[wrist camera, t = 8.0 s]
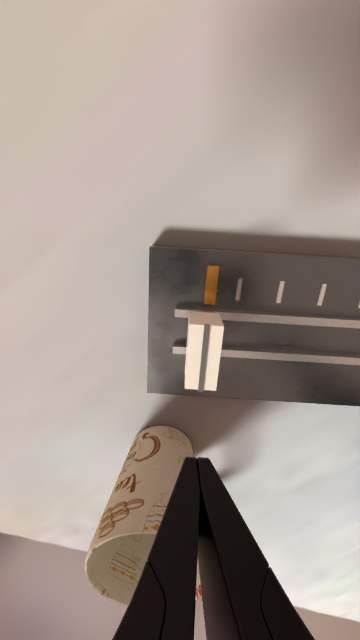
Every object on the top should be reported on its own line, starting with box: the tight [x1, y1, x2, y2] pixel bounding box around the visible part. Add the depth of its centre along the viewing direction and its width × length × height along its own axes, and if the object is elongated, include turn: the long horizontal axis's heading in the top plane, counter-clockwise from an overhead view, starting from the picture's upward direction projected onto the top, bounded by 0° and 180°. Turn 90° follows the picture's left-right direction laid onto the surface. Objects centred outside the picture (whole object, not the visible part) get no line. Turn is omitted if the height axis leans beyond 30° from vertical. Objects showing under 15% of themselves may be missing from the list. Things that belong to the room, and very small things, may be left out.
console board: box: [147, 245, 360, 406], centre depth 20 cm, size 19×12×2 cm, turn 87°
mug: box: [85, 426, 202, 606], centre depth 22 cm, size 8×13×10 cm, turn 28°
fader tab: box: [185, 311, 224, 392], centre depth 17 cm, size 2×4×5 cm, turn 177°
